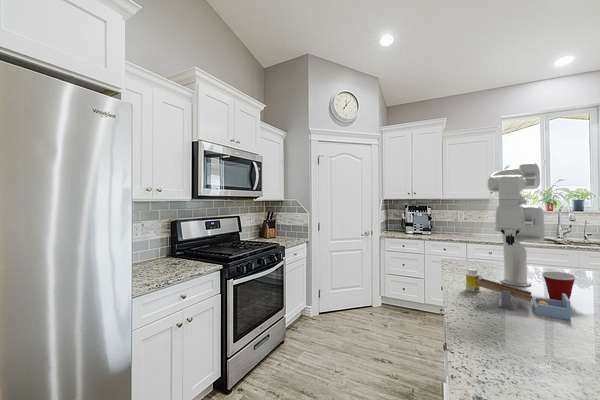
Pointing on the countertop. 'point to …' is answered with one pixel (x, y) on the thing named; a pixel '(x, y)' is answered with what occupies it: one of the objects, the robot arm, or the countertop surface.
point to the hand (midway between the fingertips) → (510, 244)
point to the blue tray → (553, 308)
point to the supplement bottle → (472, 280)
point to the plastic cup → (558, 284)
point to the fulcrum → (506, 300)
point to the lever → (498, 287)
